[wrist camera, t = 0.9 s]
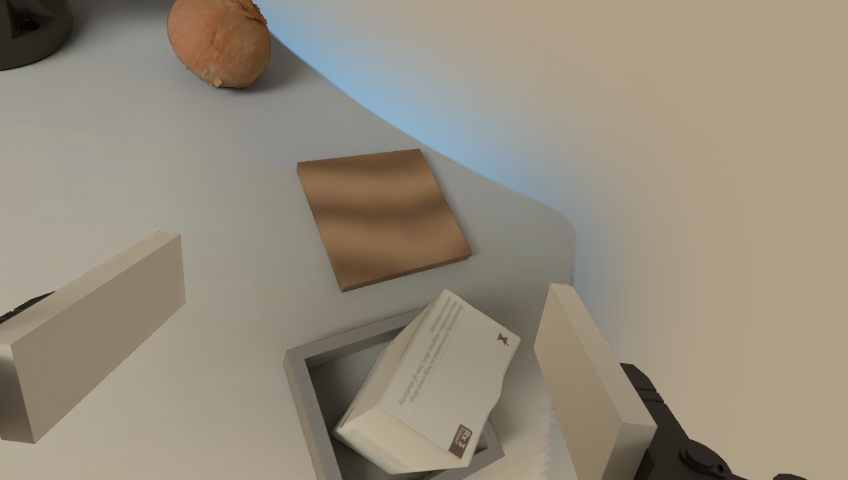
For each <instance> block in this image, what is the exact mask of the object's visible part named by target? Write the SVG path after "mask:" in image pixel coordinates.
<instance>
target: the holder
mask: <svg viewBox="0 0 848 480" xmlns="http://www.w3.org/2000/svg"><path fill="white" fill-rule="evenodd" d="M427 307H428V306H427ZM427 307H423V308H420V309H417V310H414V311H411V312H407V313H404V314H401V315H398V316H395V317H391V318H388V319H385V320H382V321H379V322H376V323H372V324H369V325H366V326H363V327H360V328H356V329H353V330H350V331H347V332H344V333H340V334H337V335H334V336H331V337H328V338H324V339H321V340H318V341H315V342H312V343H309V344H305V345H302V346H299V347H296V348H293V349H289V350H287V351H286V355H285V358H284V362H283V365H284V368H285V372H286V375H287V378H288V382H289V385H290V388H291V392H292V395H293V399H294V402H295V405H296V409H297V412H298V415H299V419H300V422H301V426H302V429H303V432H304V436H305V439H306V442H307V446H308V449H309V453H310V456H311V459H312V463H313V466H314V469H315V473H316V476H317V480H342V477H341V473H340V470H339V467H338V464H337V461H336V458H335V454H334V451H333V448H332V445H331V442H330V439H329V435H328V432H327V429H326V426H325V423H324V420H323V416H322V413H321V410H320V407H319V404H318V401H317V397H316V394H315V391H314V388H313V385H312V382H311V378H310V375H309V372H308V369H307V368H310V367H313V366H316V365H319V364H322V363H325V362H328V361H331V360H333V359H336V358H339V357H342V356H345V355H348V354H351V353H354V352H357V351H360V350H363V349H366V348H369V347H372V346H375V345H378V344H380V343H383V342H386V341H389V340H392V339H395V338H396V337H397V336H398V335H399V334H400V333H401V332H402V331H403V330H404V329H405V328H406V327H407V326H408V325H409V324H410V323H411V322H412V321H413V320H414V319H415V318H416V317H417V316H418V315H419V314H420V313H421V312H422V311H424V310H425V309H426V308H427ZM503 456H505V454H504V452H503V450H502V447H501V445H500V443H499V441H498V439H497V436H496V434H495V432H494V430H493V427H492V425H491V423H490V421H489V419H488V418H487V421H486V423H485V426H484V428H483V431H482V433H481V436H480V438H479V441H478V444H477V447H476V449H475V452H474V454H473V457H472V460H471V462H470V465H469V466H468V467H462V468H450V469H439V470H437V471H435V472H433V473H431V474H429V475H427V476H425V477H423V478H421V479H419V480H462V479H464V478H465V477H467V476H469V475H471V474H473V473H475V472H476V471H478V470H480V469H482V468H484V467H485V466H487V465H489V464H491V463H493V462H494V461H496V460H498V459H500V458H502V457H503Z"/></svg>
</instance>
